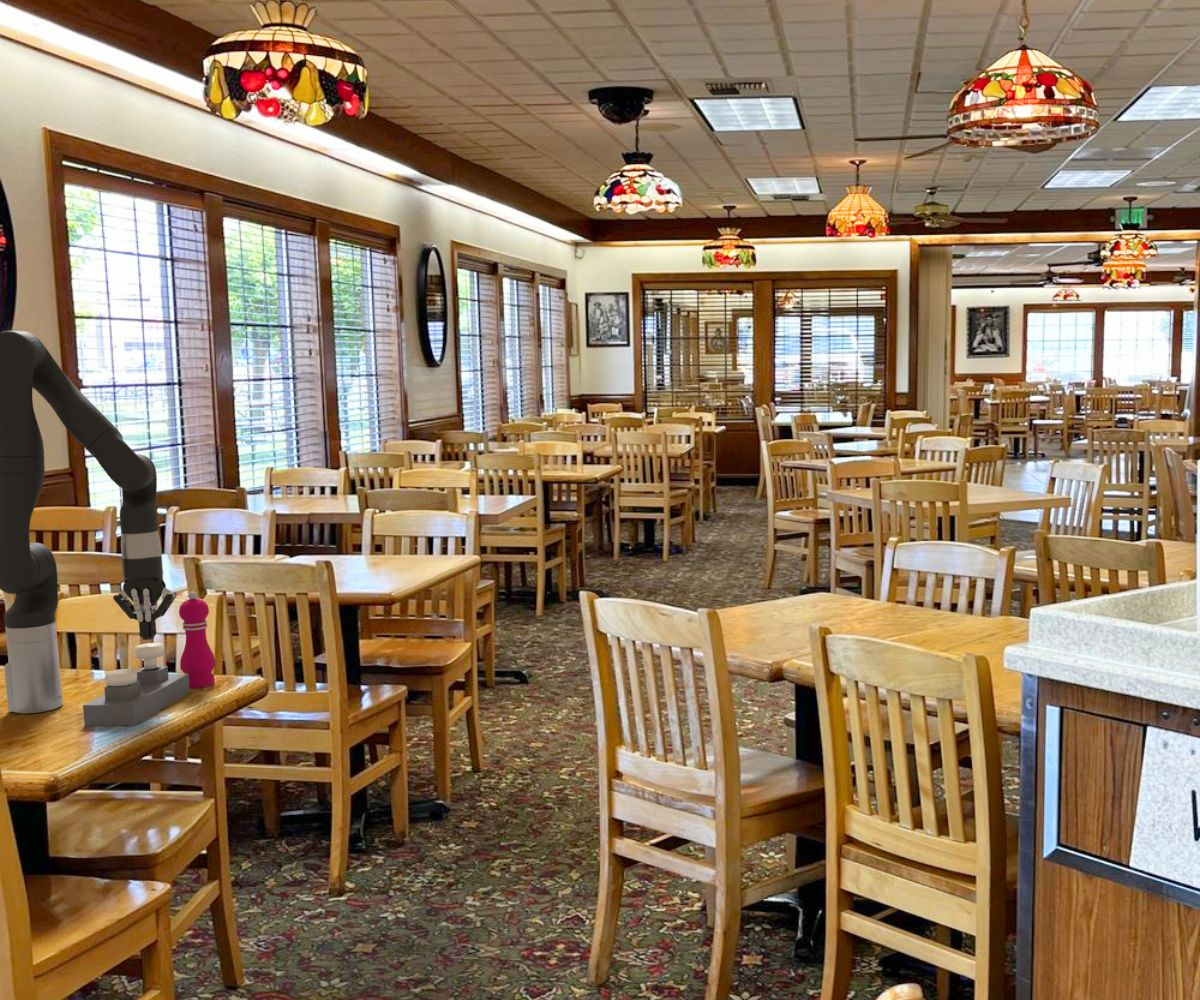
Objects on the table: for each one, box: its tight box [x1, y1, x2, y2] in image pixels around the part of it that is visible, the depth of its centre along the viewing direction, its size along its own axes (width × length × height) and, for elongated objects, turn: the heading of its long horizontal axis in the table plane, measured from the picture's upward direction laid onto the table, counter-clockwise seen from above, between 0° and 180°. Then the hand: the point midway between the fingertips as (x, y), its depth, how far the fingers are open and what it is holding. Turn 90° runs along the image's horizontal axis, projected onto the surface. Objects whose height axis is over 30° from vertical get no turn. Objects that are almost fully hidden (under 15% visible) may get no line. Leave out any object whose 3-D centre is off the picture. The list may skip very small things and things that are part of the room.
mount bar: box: [82, 665, 191, 727], centre depth 253 cm, size 10×24×6 cm, turn 173°
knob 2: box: [134, 642, 165, 669], centre depth 259 cm, size 6×6×4 cm
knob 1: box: [105, 668, 137, 686], centre depth 247 cm, size 6×6×4 cm
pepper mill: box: [178, 591, 217, 689], centre depth 271 cm, size 7×7×20 cm
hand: (148, 639), depth 258 cm, fingers closed
